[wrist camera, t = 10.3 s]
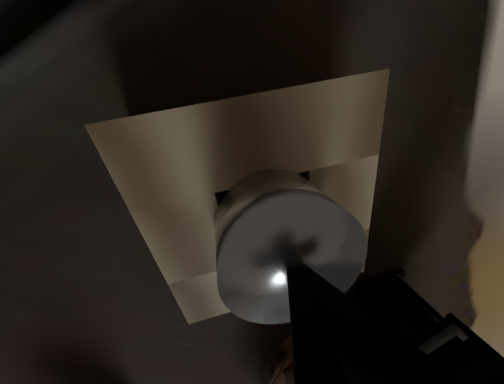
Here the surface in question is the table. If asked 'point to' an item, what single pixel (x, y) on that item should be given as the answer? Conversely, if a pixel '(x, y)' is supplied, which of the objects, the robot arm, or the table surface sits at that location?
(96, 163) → the table surface
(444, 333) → the robot arm
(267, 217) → the pin
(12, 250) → the table surface
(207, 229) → the hitch block
